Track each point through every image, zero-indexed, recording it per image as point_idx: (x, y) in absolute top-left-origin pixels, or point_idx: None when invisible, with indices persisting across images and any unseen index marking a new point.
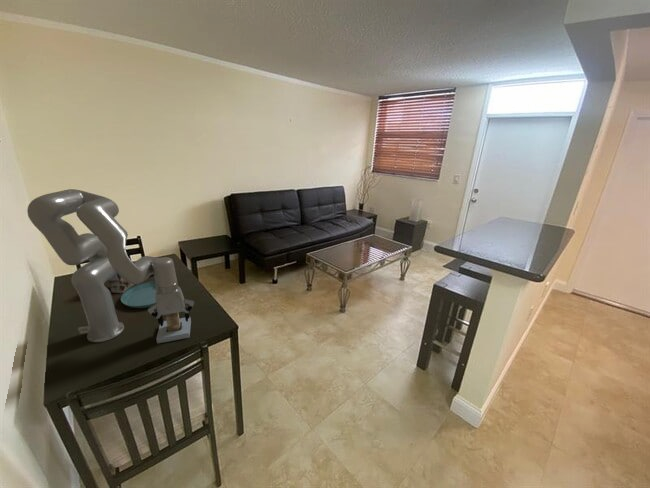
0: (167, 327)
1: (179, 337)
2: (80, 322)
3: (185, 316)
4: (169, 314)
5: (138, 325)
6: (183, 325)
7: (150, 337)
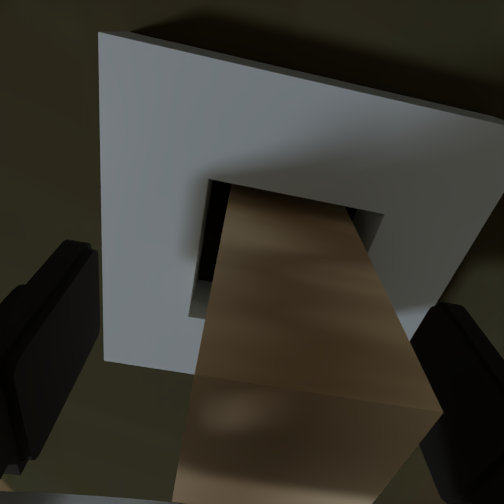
0: None
1: (246, 61)
2: None
3: (31, 315)
4: (336, 474)
5: None
6: (174, 252)
7: (497, 257)
